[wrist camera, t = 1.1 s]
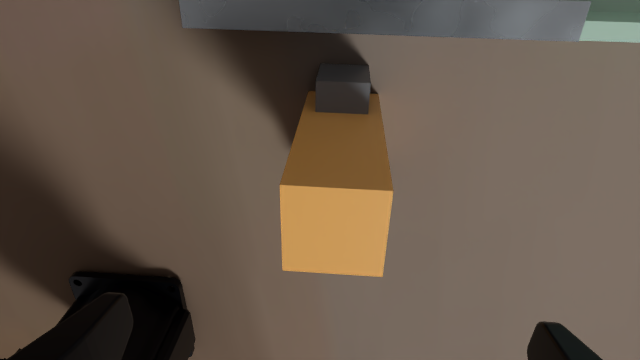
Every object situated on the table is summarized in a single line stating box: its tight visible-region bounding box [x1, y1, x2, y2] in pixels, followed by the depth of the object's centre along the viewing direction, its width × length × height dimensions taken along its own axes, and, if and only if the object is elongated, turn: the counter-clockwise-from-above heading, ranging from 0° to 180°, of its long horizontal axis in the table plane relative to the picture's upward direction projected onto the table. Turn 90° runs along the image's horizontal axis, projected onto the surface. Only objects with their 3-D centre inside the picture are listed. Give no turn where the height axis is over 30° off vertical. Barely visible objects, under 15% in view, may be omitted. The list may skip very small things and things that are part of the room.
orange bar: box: [280, 64, 393, 277], centre depth 15 cm, size 3×5×8 cm, turn 179°
